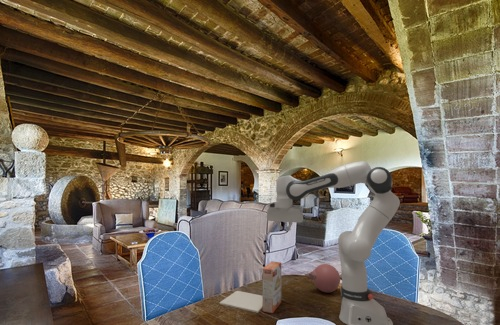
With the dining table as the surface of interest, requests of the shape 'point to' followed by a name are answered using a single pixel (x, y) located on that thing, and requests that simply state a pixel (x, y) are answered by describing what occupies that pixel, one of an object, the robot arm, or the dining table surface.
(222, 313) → the dining table surface
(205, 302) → the dining table surface
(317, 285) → the balloon
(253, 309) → the limestone tile
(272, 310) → the cracker box
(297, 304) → the dining table surface
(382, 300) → the dining table surface
